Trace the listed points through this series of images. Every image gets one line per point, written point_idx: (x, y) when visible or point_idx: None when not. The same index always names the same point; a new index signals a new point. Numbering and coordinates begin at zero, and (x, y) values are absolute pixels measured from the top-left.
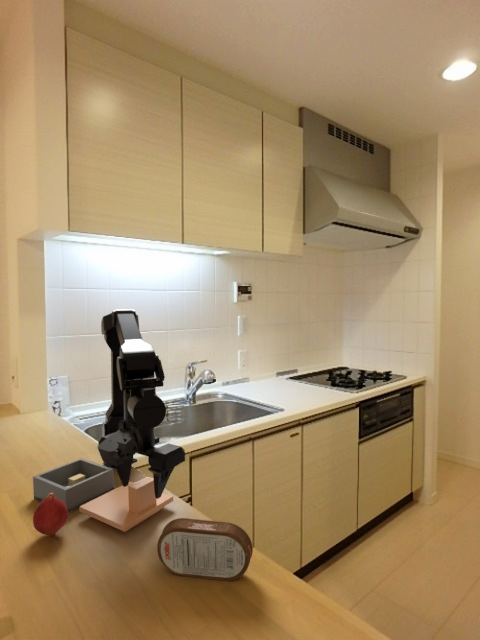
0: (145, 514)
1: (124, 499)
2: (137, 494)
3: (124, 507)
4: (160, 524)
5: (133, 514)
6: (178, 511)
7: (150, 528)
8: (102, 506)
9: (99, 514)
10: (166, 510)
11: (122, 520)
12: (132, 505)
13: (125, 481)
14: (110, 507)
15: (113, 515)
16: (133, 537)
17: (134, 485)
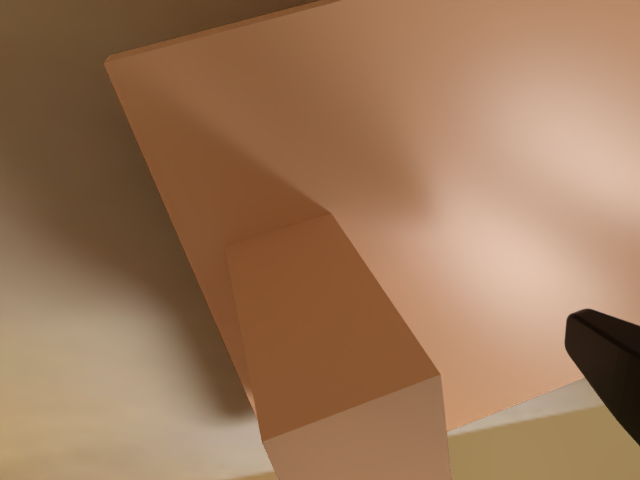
0: (207, 297)
1: (509, 250)
2: (255, 383)
3: (411, 207)
4: (152, 325)
5: (254, 223)
6: (222, 438)
7: (147, 261)
8: (573, 68)
9: None
10: None
11: (220, 103)
12: (299, 261)
13: (606, 361)
14: (504, 117)
15: (368, 76)
16: (103, 120)
17: (386, 437)
